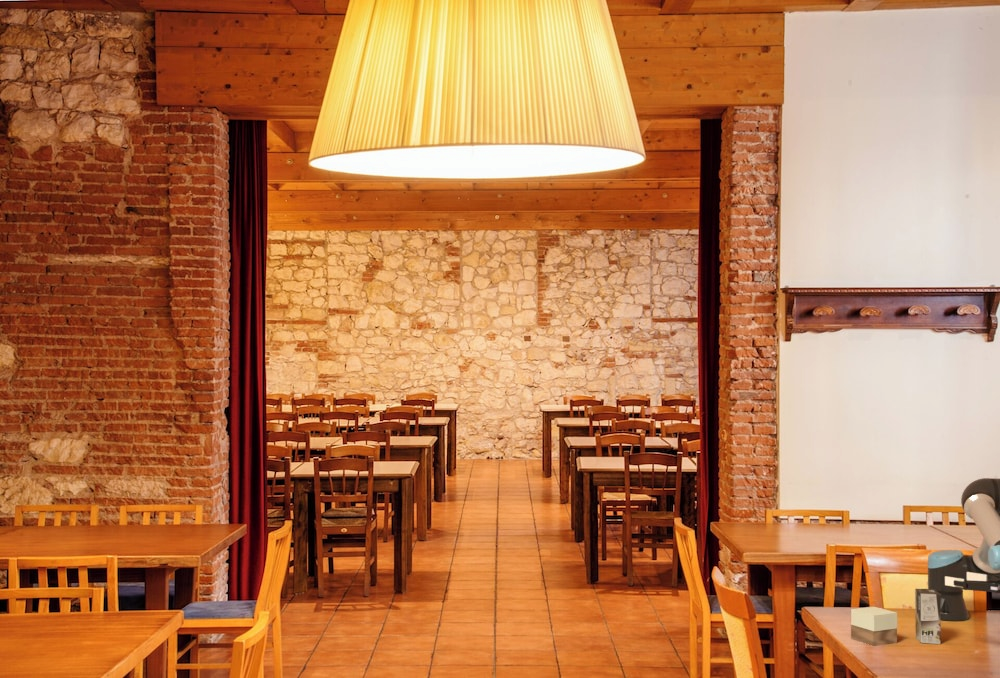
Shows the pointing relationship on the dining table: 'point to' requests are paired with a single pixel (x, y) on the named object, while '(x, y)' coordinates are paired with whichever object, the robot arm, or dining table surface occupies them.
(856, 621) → the tower top
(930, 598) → the coffee box
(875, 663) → the dining table surface
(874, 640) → the tower base
